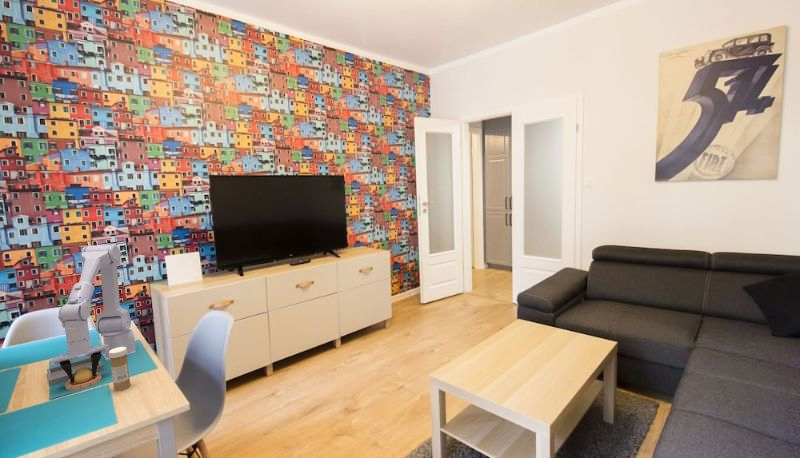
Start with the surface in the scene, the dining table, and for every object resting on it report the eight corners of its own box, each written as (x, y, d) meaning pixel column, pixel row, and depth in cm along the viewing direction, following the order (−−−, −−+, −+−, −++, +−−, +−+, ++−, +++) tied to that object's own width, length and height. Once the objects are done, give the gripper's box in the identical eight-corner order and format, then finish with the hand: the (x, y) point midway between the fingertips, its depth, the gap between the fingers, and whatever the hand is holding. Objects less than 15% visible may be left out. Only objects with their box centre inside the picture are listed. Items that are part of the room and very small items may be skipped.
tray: (98, 361, 140) (97, 355, 139) (103, 371, 131) (103, 365, 131) (47, 375, 130) (46, 369, 129) (49, 387, 121) (49, 380, 121)
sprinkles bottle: (132, 384, 122) (128, 345, 121) (129, 390, 118) (124, 350, 117) (115, 387, 120) (110, 348, 119) (111, 394, 116) (106, 353, 115)
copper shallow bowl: (99, 374, 129) (98, 369, 129) (103, 383, 123) (102, 378, 123) (64, 384, 123) (64, 379, 123) (67, 394, 117) (66, 389, 117)
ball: (92, 377, 127) (90, 363, 126) (94, 382, 123) (92, 367, 123) (73, 382, 123) (71, 368, 122) (74, 388, 119) (73, 373, 119)
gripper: (48, 349, 113) (54, 391, 115) (108, 335, 124) (112, 373, 125) (47, 343, 118) (52, 383, 120) (104, 330, 129) (109, 367, 130)
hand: (83, 378), depth 123 cm, fingers closed on ball, 5 cm apart
